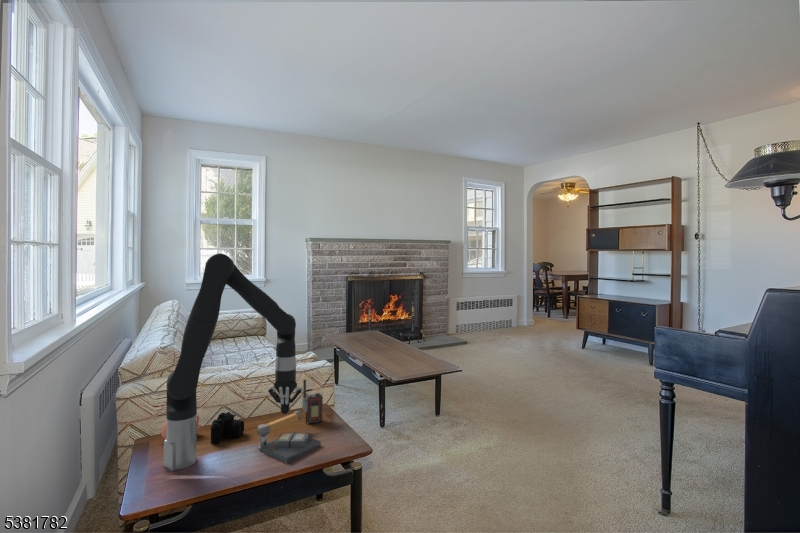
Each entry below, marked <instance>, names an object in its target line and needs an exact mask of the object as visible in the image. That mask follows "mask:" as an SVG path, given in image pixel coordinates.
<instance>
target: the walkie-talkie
mask: <svg viewBox="0 0 800 533" xmlns="http://www.w3.org/2000/svg"><path fill="white" fill-rule="evenodd" d="M302 389H303V390H302V393H303V395H302V397H301V408H302V409H303V410H304V413H305V424H306V425H307V424H313V423H314V424H315V423H316V424H317V423H321V422H322V421H323V398H324V397H323V395H322V394H321V393H320V392H315V394H312V393H310V394H309V395H307V379H303V387H302Z"/></svg>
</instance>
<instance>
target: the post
mask: <svg viewBox="0 0 800 533" xmlns="http://www.w3.org/2000/svg"><path fill="white" fill-rule="evenodd" d="M259 437H260V438H259V439H260V440H259V442H260V444H259V445H257V450H260V446H262V445H265V444H267V443H268V434H267V435H259Z"/></svg>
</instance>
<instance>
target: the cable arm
mask: <svg viewBox="0 0 800 533" xmlns="http://www.w3.org/2000/svg"><path fill="white" fill-rule="evenodd" d="M300 420H301V410H295V411H293V413H291V414H288V415H286V416H283V417H281V418H279V419H278V418H277V419H276V420H273V421H271V422H268V423H262V424H259V425H258V426H257V435H258V436H260V435H267V436H268V435H269V434H271V432H273V431H275V430H277V429H279V428H283V427H285V426H287V425H289V424H291V423H295V422H296V421H300Z"/></svg>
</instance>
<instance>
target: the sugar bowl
mask: <svg viewBox="0 0 800 533" xmlns="http://www.w3.org/2000/svg"><path fill="white" fill-rule="evenodd" d="M199 421H200V416H199V415H198V414H197V431H199V430H200V429H202V428H201V427H202V426H201V424H199ZM166 431H167V419H166V420H165V421H164V423H163V425H162V427H161V431H160V432H161V433H160V435H161V437H162V438H163V439H164V440H166Z"/></svg>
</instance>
